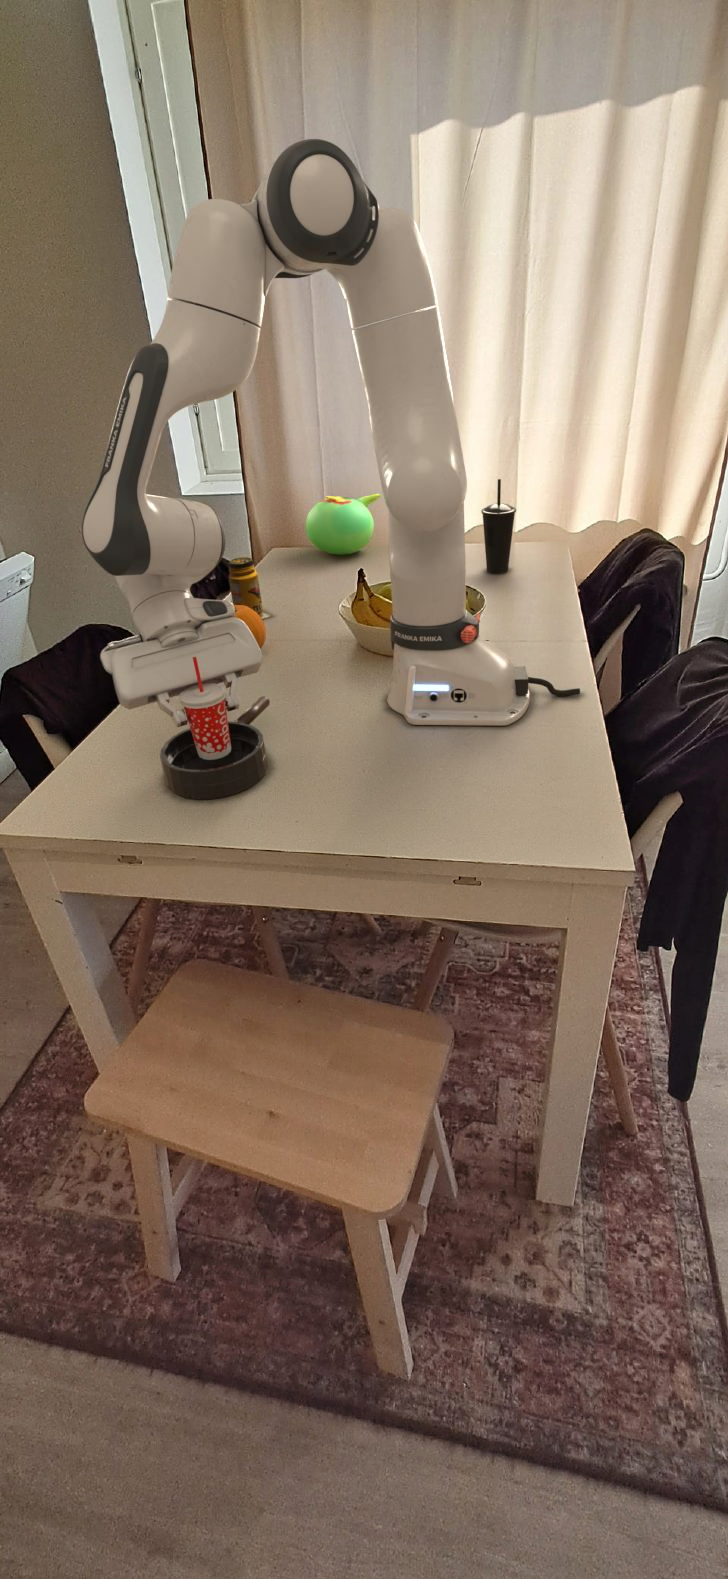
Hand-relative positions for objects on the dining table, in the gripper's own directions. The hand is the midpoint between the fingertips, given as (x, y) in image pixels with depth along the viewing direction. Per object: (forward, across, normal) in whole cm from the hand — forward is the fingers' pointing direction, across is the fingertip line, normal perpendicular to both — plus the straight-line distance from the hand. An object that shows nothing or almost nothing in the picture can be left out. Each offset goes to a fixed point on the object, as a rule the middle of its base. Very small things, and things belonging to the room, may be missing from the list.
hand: (208, 716), depth 103 cm
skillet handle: (-1, +9, +10) cm, 13 cm away
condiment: (-35, +28, +49) cm, 66 cm away
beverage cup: (+4, 0, +5) cm, 6 cm away
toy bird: (-56, +67, +70) cm, 112 cm away
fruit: (-23, +19, +36) cm, 47 cm away
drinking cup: (-27, +86, +41) cm, 99 cm away
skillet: (+6, 0, +7) cm, 9 cm away
